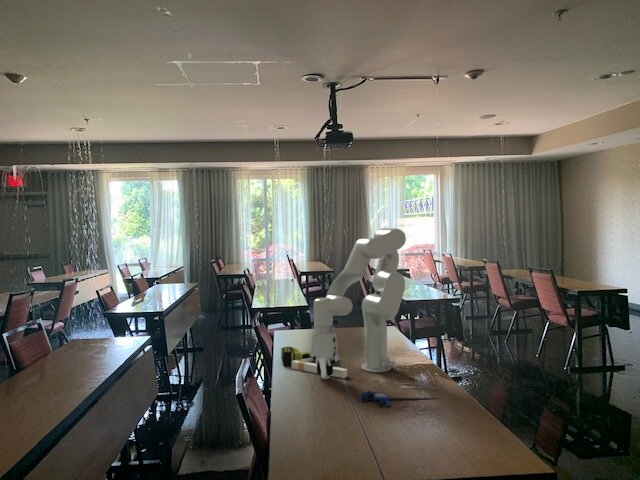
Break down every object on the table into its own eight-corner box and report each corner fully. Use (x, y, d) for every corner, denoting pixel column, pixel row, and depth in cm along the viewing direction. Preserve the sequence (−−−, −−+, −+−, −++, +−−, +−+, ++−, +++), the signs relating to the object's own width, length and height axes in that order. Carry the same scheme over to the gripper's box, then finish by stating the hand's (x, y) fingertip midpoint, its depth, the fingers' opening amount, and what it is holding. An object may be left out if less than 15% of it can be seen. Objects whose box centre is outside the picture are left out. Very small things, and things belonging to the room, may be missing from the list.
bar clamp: (362, 402, 147) (359, 390, 157) (362, 409, 147) (358, 397, 157) (458, 402, 148) (448, 391, 158) (458, 409, 148) (448, 397, 158)
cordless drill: (280, 350, 218) (331, 348, 220) (281, 368, 193) (337, 365, 196) (280, 336, 218) (330, 334, 220) (280, 352, 193) (337, 349, 195)
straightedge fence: (347, 376, 179) (347, 368, 179) (344, 378, 177) (343, 370, 177) (295, 366, 193) (294, 359, 193) (291, 368, 191) (291, 361, 190)
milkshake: (323, 375, 181) (320, 351, 181) (333, 376, 178) (331, 352, 178) (316, 378, 178) (313, 354, 178) (326, 380, 174) (324, 355, 174)
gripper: (346, 329, 176) (347, 374, 176) (311, 325, 185) (312, 368, 185) (337, 333, 169) (338, 380, 170) (301, 328, 178) (302, 373, 179)
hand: (325, 373), depth 178 cm, fingers closed on milkshake, 4 cm apart
